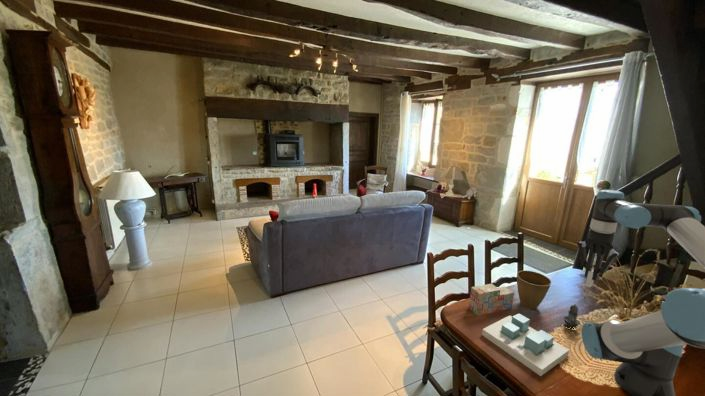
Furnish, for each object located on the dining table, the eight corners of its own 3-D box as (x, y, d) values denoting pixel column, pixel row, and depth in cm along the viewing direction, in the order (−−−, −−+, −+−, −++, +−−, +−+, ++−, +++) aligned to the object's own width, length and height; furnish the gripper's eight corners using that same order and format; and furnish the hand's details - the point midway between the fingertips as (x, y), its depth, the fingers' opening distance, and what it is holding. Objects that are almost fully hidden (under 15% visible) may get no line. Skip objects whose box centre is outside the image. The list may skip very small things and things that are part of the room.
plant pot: (506, 298, 156) (510, 271, 152) (529, 295, 158) (534, 269, 155) (527, 315, 141) (532, 286, 138) (553, 312, 144) (559, 283, 140)
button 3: (543, 350, 115) (545, 339, 114) (536, 354, 113) (538, 343, 112) (530, 342, 120) (532, 331, 118) (523, 346, 117) (525, 335, 116)
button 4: (551, 347, 119) (554, 337, 118) (545, 351, 117) (547, 341, 116) (539, 339, 123) (541, 329, 122) (532, 343, 121) (534, 333, 120)
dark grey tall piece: (580, 332, 131) (586, 308, 128) (566, 330, 132) (571, 307, 129) (573, 323, 136) (578, 301, 133) (559, 321, 137) (564, 299, 134)
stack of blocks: (502, 301, 153) (505, 280, 150) (511, 308, 147) (515, 287, 144) (468, 308, 147) (471, 286, 144) (476, 315, 141) (479, 293, 138)
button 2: (528, 329, 127) (530, 319, 126) (521, 333, 125) (523, 323, 124) (517, 322, 131) (518, 313, 130) (510, 326, 129) (512, 316, 128)
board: (567, 356, 117) (569, 349, 116) (540, 376, 107) (542, 368, 106) (509, 320, 138) (510, 314, 137) (481, 334, 128) (482, 328, 127)
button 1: (518, 338, 124) (520, 328, 123) (511, 342, 122) (513, 332, 121) (507, 331, 128) (508, 321, 127) (500, 334, 126) (502, 324, 125)
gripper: (628, 234, 106) (613, 291, 112) (586, 223, 117) (574, 276, 123) (619, 237, 102) (604, 296, 108) (577, 226, 113) (565, 280, 119)
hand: (588, 285), depth 115 cm, fingers closed
